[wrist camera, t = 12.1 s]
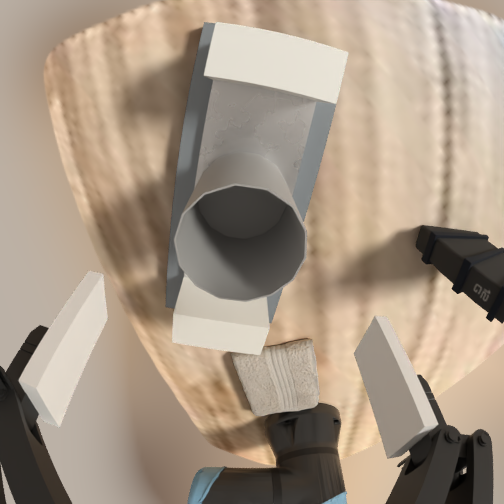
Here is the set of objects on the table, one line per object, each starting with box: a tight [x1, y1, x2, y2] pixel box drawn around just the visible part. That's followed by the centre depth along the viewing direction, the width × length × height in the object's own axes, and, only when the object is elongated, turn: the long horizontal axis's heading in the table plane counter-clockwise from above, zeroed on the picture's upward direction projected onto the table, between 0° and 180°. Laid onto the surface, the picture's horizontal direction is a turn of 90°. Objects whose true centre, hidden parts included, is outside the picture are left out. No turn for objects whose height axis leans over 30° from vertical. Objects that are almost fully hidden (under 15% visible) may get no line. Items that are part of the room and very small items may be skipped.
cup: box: [174, 151, 307, 302], centre depth 23 cm, size 8×8×10 cm
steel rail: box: [184, 80, 316, 277], centre depth 28 cm, size 28×9×1 cm, turn 168°
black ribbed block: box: [416, 225, 504, 324], centre depth 28 cm, size 4×13×15 cm, turn 86°
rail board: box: [166, 22, 348, 323], centre depth 29 cm, size 31×13×2 cm, turn 168°
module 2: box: [204, 22, 348, 104], centre depth 19 cm, size 4×9×6 cm, turn 78°
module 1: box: [172, 277, 270, 355], centre depth 31 cm, size 4×9×6 cm, turn 78°
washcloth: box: [231, 339, 320, 416], centre depth 44 cm, size 12×18×3 cm, turn 12°
